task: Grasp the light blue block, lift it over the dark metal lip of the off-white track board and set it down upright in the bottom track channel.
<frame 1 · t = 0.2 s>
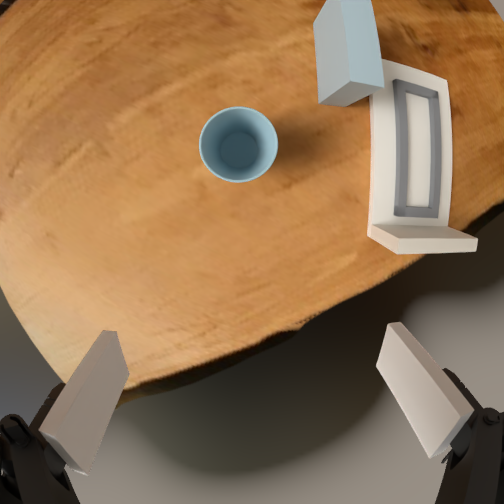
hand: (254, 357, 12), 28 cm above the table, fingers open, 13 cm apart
track: (413, 149, 36), on the table
light blue block: (329, 62, 32), on the table
cup: (238, 150, 35), on the table
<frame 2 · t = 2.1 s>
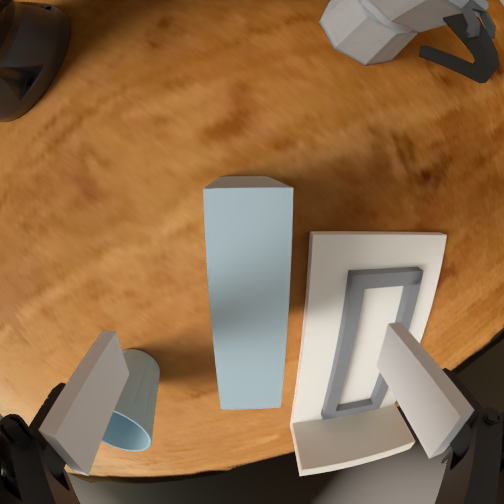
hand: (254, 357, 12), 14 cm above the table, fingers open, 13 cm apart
track: (363, 346, 30), on the table
light blue block: (244, 253, 26), on the table
coffee maker: (364, 39, 19), on the table
cup: (139, 364, 30), on the table
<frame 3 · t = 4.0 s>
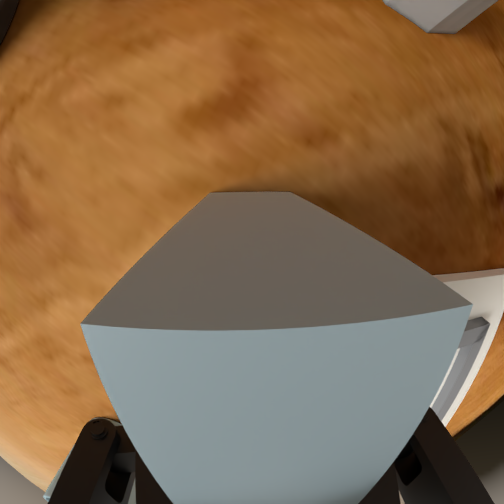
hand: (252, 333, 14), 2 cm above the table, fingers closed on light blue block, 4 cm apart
track: (401, 410, 20), on the table
light blue block: (251, 316, 16), on the table, touching gripper
coffee maker: (420, 1, 10), on the table
cup: (115, 433, 20), on the table
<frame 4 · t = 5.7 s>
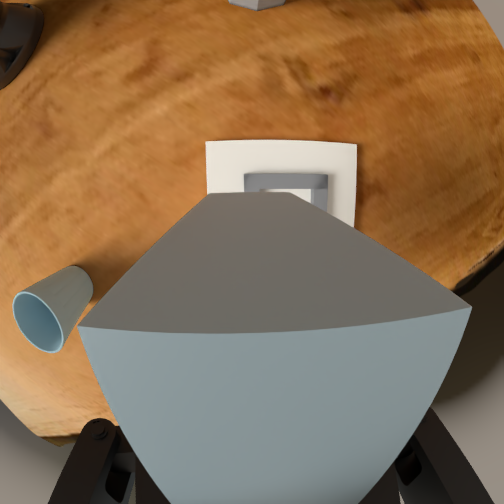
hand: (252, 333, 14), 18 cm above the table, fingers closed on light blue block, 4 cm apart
track: (282, 265, 32), on the table
light blue block: (250, 317, 16), point 16 cm above the table, touching gripper
cup: (77, 283, 32), on the table
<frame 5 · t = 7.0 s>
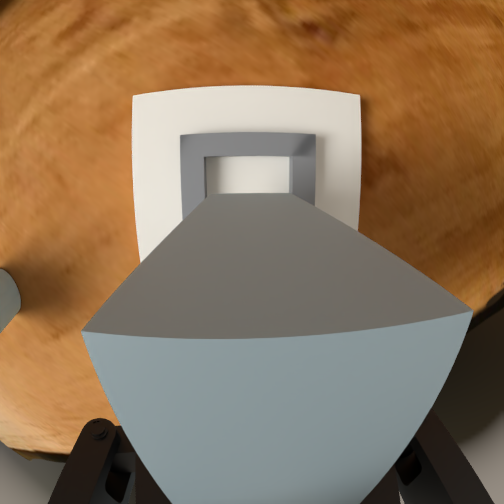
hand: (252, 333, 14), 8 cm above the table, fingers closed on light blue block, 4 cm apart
track: (248, 277, 21), on the table
light blue block: (251, 317, 16), point 6 cm above the table, touching gripper
cup: (7, 290, 21), on the table
when the fingers open (4 cm above the table, at t = 7.9 s): light blue block drops 1 cm, resting on track.
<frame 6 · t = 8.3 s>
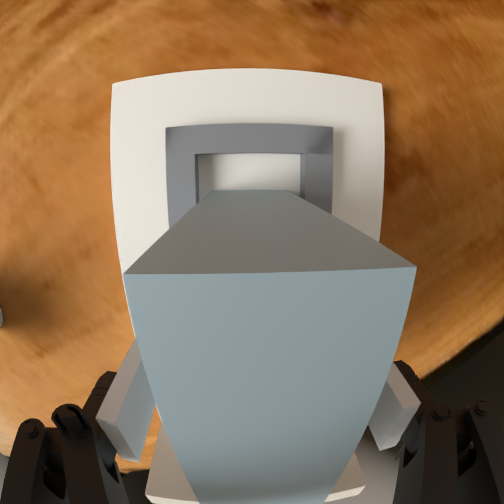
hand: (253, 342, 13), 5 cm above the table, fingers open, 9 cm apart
track: (250, 297, 18), on the table
light blue block: (250, 306, 17), point 1 cm above the table, touching track
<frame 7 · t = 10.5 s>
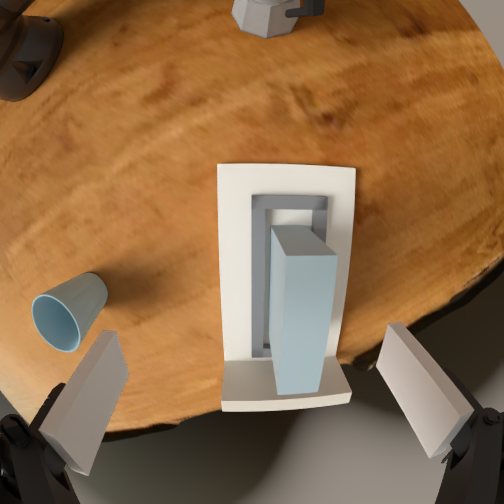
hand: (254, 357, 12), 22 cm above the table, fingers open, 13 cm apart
track: (284, 278, 35), on the table
light blue block: (285, 282, 34), point 1 cm above the table, touching track
coffee maker: (268, 20, 26), on the table
cup: (92, 289, 35), on the table
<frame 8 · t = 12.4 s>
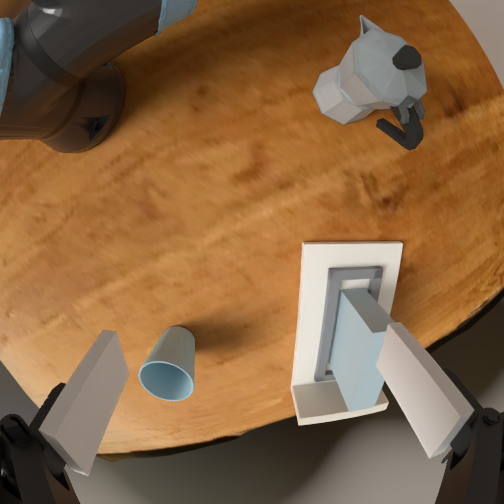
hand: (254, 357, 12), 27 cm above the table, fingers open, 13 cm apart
track: (343, 324, 43), on the table
light blue block: (345, 327, 42), point 1 cm above the table, touching track
coffee maker: (344, 103, 33), on the table
cup: (178, 339, 43), on the table
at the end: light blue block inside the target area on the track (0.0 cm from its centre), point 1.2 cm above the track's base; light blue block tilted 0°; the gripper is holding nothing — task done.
